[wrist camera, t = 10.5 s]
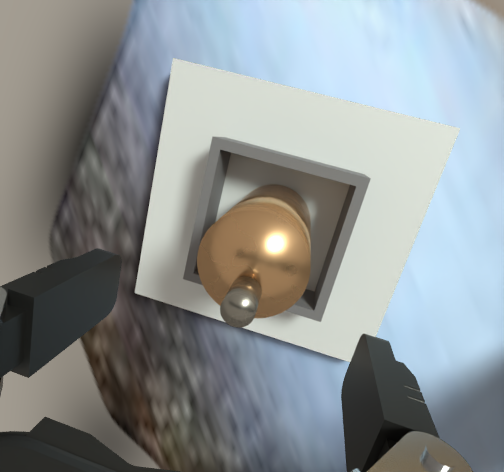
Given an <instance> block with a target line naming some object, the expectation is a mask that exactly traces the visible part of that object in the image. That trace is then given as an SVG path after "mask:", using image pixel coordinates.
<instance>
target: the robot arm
mask: <svg viewBox="0 0 504 472" xmlns="http://www.w3.org/2000/svg"><path fill="white" fill-rule="evenodd" d="M121 263H122V260H121V257H120V255H117V254H114V253H111V252H108V251H105V250H101V249H94V250H92V251H90V252H88V253H85V254H83V255H81V256H79V257H76V258H70V259H65V260H60V261H58V262H55V263H53V264H51V265H48V266H47V268H46V267H44V268H41V269H39V270H37V271H36V272H32V273H30V274H28V275H25V276H23V277H21V278H19V279H16V280H14V281H12V282H9V283H7V284H5V285H2V286H0V395H1V390H2V386H3V376H4V375H5V374H7V373H8V372H9V371H12V372H15V373H17V374H20V375H22V376H25V377H28V378H29V377H30V376H31V375H33V374H34V373H35V372H37V371H38V370H39V369H40V368H42V367H43V366H44V365H45V364H47V363H48V362H49V361H51V360H52V359H53V358H54V357H56V356H57V355H58V354H59V353H61V352H62V351H63V350H65V349H66V348H67V347H68V346H69V345H71V344H72V343H73V342H74V341H76V340H77V339H78V338H80V337H81V336H82V335H84V334H85V333H86V332H87V331H89V330H90V329H91V328H92V327H94V326H95V325H96V324H98V323H99V322H100V321H101V320H103V319H104V318H105V317H106V316H107V315H108V314H109V313H110V312H111V310H112V309H113V307H114V305H115V302H116V298H117V291H118V284H119V278H120V271H121ZM341 398H342V412H343V425H344V439H345V452H346V466H347V472H473V471H472V469H471V467H470V466H469V464H468V463H467V462H466V460H465V459H464V458H463V457H462V456H461V455H460V454H459V453H458V452H457V451H456V450H455V449H454V448H452V447H451V446H450V445H449V444H447V443H446V442H444V441H443V440H441V439H440V438H439V436H438V433H437V431H436V428H435V426H434V423H433V421H432V418H431V416H430V413H429V411H428V408H427V406H426V404H424V402H425V401H424V398H423V396H422V393H421V392H420V388H419V385H418V383H417V380H416V378H415V376H414V375H413V374H412V373H411V372H410V370H409V369H408V368H407V367H406V366H405V365H404V363H401V362H398V361H396V360H395V357H394V354H393V352H392V349H391V346H390V343H389V341H386V340H383V339H380V338H377V337H374V336H371V335H367V334H362V335H361V337H360V339H359V341H358V343H357V346H356V349H355V351H354V354H353V356H352V359H351V362H350V364H349V367H348V369H347V372H346V375H345V378H344V381H343V386H342V394H341ZM0 472H179V471H170V470H162V469H154V468H146V467H137V466H133V465H131V464H129V463H127V462H126V461H125V460H123V459H122V458H121V457H119V456H118V455H117V454H115V453H114V452H113V451H112V450H110V449H109V448H108V447H106V446H105V445H104V444H102V443H101V442H100V441H99V440H97V439H96V438H95V437H93V436H92V435H91V434H88V433H86V432H83V431H80V430H78V429H75V428H73V427H70V426H68V425H65V424H62V423H60V422H57V421H55V420H52V419H50V418H47V417H44V418H43V419H42V420H41V421H40V422H39V423H38V424H37V425H36V426H35V427H34V428H33V429H32V430H31V431H30V432H11V431H10V432H0Z"/></svg>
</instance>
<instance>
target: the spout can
mask: <svg viewBox="0 0 504 472" xmlns="http://www.w3.org/2000/svg"><path fill="white" fill-rule="evenodd" d="M197 267H198V273H199V277H200V280H201V282H202V284H203V286H204V288H205V290H206V291H207V293H208V294H209V295H210V297H211V298H212V299H213V300H214V301H215V302H216V303H217V304H219V305H220V314H221V316H222V318H223V320H224V321H225V322H226V323H227V324H229V325H230V326H233V327H238V328H241V327H245V326H247V325H249V324H250V323H251V322H252V321H253V319H254V318H267V317H271V316H275V315H278V314H280V313H282V312H284V311H286V310H288V309H289V308H290V307H292V306H293V305H294V304H295V303H296V302H297V301H298V300H299V299H300V297H301V296H302V295H303V293H304V291H305V289H306V287H307V284H308V282H309V277H310V269H311V218H310V212H309V209H308V206H307V204H306V202H305V201H304V200H303V198H302V197H301V196H300V195H299V194H298V193H297V192H295V191H294V190H292V189H290V188H288V187H286V186H283V185H277V184H270V185H264V186H261V187H258V188H256V189H254V190H253V191H251V192H250V193H249V194H248V195H247V196H245V197H244V198H243V199H242V200H241V201H240V202H238V203H237V204H236V205H235V206H234V207H232V208H231V209H230V210H229V211H228V212H227V213H225V214H224V215H223V216H222V217H221V218H220V219H218V220H217V221H216V222H215V223H214V224H213V225H212V226H211V227H210V228H209V229H208V230H207V232H206V233H205V235H204V236H203V238H202V240H201V243H200V246H199V249H198V255H197Z"/></svg>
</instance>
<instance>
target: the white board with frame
mask: <svg viewBox="0 0 504 472" xmlns="http://www.w3.org/2000/svg"><path fill="white" fill-rule="evenodd" d="M459 130H460V128H456V127H452V126H448V125H444V124H440V123H436V122H432V121H428V120H424V119H420V118H415V117H411V116H407V115H403V114H399V113H395V112H391V111H387V110H383V109H379V108H375V107H371V106H367V105H363V104H359V103H354V102H350V101H346V100H342V99H338V98H334V97H330V96H326V95H322V94H318V93H314V92H310V91H306V90H302V89H297V88H293V87H289V86H285V85H281V84H277V83H273V82H269V81H265V80H261V79H257V78H253V77H249V76H245V75H241V74H236V73H232V72H228V71H224V70H220V69H216V68H212V67H208V66H204V65H200V64H196V63H192V62H188V61H184V60H179V59H175V58H173V62H172V68H171V74H170V81H169V87H168V93H167V99H166V105H165V111H164V117H163V123H162V129H161V135H160V141H159V148H158V154H157V160H156V166H155V172H154V178H153V184H152V190H151V196H150V202H149V208H148V215H147V221H146V227H145V233H144V239H143V245H142V251H141V257H140V263H139V269H138V275H137V282H136V288H135V293H136V294H139V295H142V296H146V297H149V298H152V299H155V300H158V301H161V302H164V303H167V304H170V305H173V306H177V307H180V308H183V309H186V310H189V311H192V312H195V313H198V314H201V315H205V316H208V317H211V318H214V319H217V320H220V321H223V322H225V321H224V320H223V318H222V316H221V314H220V305H219V304H217V303H216V302H215V301H214V300H213V299H212V298H211V297H210V295H209V294H208V293H207V291H206V290H205V288H204V286H203V284H202V282H201V280H200V277H199V273H198V267H197V255H198V249H199V246H200V243H201V240H202V238H203V236H204V235H205V233H206V232H207V230H208V229H209V228H210V227H211V226H212V225H213V224H214V223H215V222H216V221H217V220H218V219H220V218H221V217H222V216H223V215H224V214H225V213H227V212H228V211H229V210H230V209H231V208H232V207H234V206H235V205H236V204H237V203H238V202H240V201H241V200H242V199H243V198H244V197H245V196H247V195H248V194H249V193H250V192H251V191H253V190H254V189H256V188H258V187H261V186H264V185H270V184H277V185H283V186H286V187H288V188H290V189H292V190H294V191H295V192H297V193H298V194H299V195H300V196H301V197H302V198H303V200H304V201H305V202H306V204H307V206H308V209H309V212H310V218H311V269H310V277H309V282H308V284H307V287H306V289H305V291H304V293H303V295H302V296H301V297H300V299H299V300H298V301H297V302H296V303H295V304H294V305H293V306H292V307H290V308H289V309H288V310H286V311H284V312H282V313H280V314H278V315H275V316H271V317H267V318H254V319H253V321H252V322H251V323H250V324H249V325H247V326H245V327H242V328H245V329H248V330H251V331H254V332H257V333H261V334H264V335H267V336H270V337H273V338H276V339H279V340H282V341H285V342H289V343H292V344H295V345H298V346H301V347H304V348H307V349H310V350H313V351H317V352H320V353H323V354H326V355H329V356H332V357H335V358H338V359H341V360H345V361H348V362H351V359H352V356H353V354H354V351H355V349H356V346H357V343H358V341H359V339H360V337H361V335H362V334H367V335H371V336H374V337H376V335H377V332H378V330H379V327H380V325H381V322H382V320H383V317H384V315H385V312H386V310H387V308H388V305H389V303H390V300H391V298H392V295H393V293H394V290H395V288H396V285H397V283H398V280H399V278H400V276H401V273H402V271H403V268H404V266H405V263H406V261H407V258H408V256H409V253H410V251H411V248H412V246H413V244H414V241H415V239H416V236H417V234H418V231H419V229H420V226H421V224H422V221H423V219H424V217H425V214H426V212H427V209H428V207H429V204H430V202H431V199H432V197H433V194H434V192H435V189H436V187H437V185H438V182H439V180H440V177H441V175H442V172H443V170H444V167H445V165H446V162H447V160H448V158H449V155H450V153H451V150H452V148H453V145H454V143H455V140H456V138H457V135H458V133H459Z"/></svg>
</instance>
